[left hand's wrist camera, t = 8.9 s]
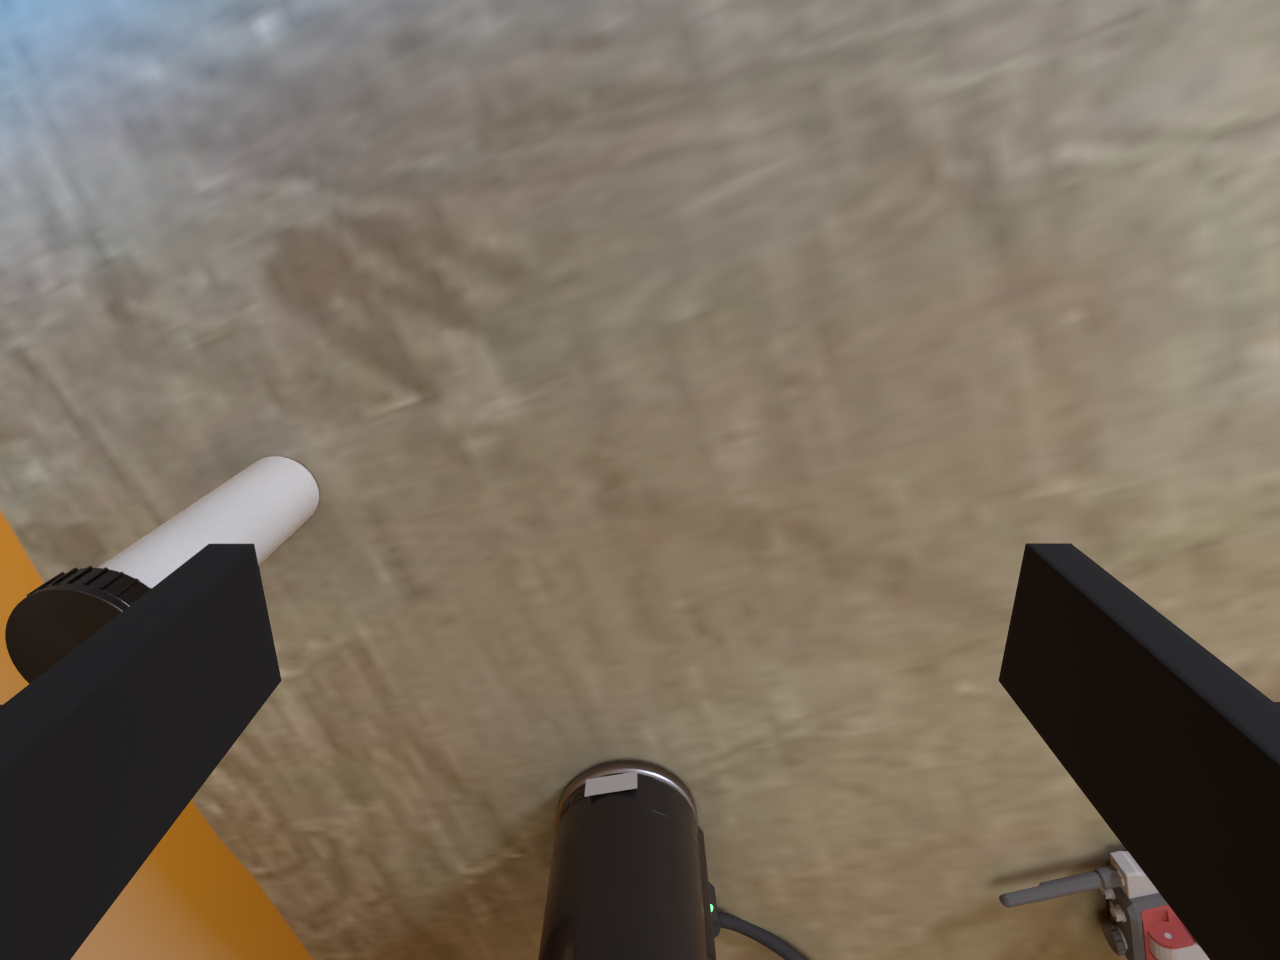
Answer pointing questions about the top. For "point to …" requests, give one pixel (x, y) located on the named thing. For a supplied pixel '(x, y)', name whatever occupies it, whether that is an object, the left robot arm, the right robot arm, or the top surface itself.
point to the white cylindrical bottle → (227, 520)
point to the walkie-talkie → (1124, 910)
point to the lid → (66, 615)
